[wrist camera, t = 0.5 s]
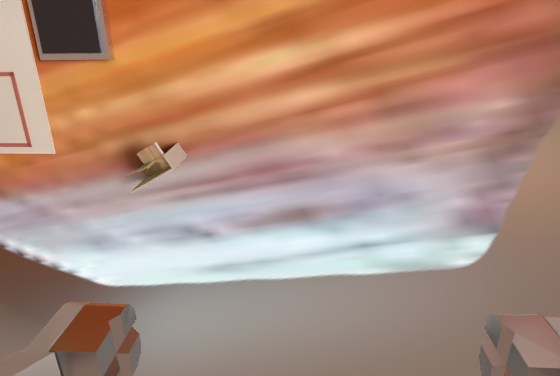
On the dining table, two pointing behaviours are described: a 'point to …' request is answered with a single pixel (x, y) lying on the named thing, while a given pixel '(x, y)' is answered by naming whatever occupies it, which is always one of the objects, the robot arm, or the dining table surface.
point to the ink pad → (71, 29)
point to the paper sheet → (20, 88)
